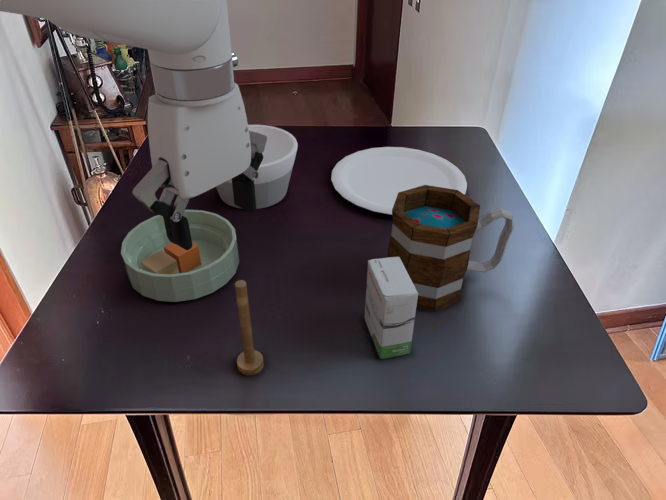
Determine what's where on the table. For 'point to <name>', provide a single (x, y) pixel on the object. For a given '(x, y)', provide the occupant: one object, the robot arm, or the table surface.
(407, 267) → the mug
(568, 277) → the table surface
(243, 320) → the stirrer
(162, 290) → the stir bowl
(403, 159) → the plate
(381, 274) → the ink box
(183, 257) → the orange block
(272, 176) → the bowl
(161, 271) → the maple block
